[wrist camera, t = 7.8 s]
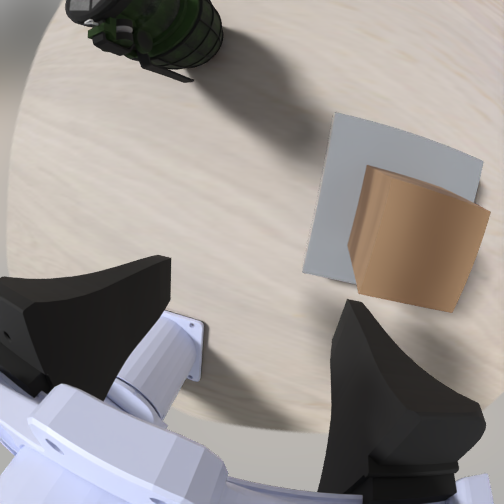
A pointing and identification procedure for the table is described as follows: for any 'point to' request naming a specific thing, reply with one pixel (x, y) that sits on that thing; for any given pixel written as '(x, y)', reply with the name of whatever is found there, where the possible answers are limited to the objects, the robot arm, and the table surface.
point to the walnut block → (413, 240)
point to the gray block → (352, 175)
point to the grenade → (153, 31)
